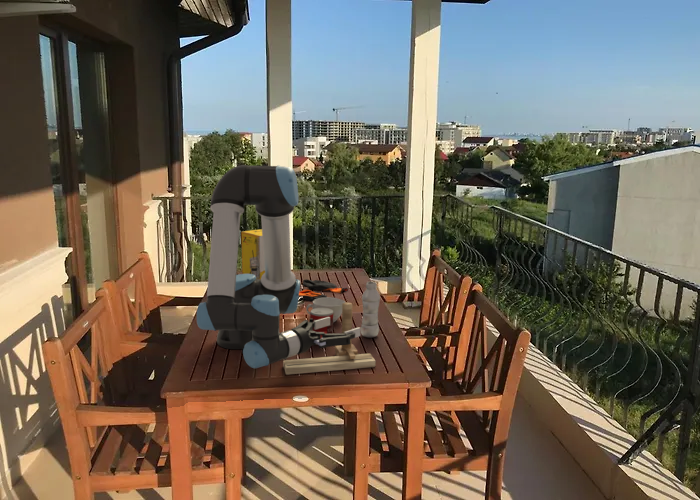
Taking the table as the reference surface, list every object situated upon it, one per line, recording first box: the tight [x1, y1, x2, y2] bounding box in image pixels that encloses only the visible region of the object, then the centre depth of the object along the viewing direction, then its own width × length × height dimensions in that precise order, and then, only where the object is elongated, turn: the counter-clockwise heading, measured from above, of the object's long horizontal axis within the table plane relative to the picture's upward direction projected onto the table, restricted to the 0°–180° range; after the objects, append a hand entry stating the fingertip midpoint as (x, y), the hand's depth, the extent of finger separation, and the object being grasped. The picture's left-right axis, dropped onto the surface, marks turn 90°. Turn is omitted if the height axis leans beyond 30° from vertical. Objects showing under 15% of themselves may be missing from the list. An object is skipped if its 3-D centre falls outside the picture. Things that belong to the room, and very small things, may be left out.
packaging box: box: [241, 228, 265, 279], centre depth 261 cm, size 16×16×25 cm
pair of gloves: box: [299, 279, 349, 302], centre depth 248 cm, size 27×24×3 cm
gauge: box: [334, 302, 359, 359], centre depth 169 cm, size 11×6×18 cm, turn 15°
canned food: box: [309, 308, 334, 339], centre depth 186 cm, size 8×8×11 cm
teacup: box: [305, 296, 346, 323], centre depth 208 cm, size 15×12×8 cm
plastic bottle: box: [360, 281, 381, 338], centre depth 190 cm, size 6×7×20 cm
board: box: [282, 353, 377, 375], centre depth 165 cm, size 6×28×2 cm, turn 105°
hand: (344, 326), depth 170 cm, fingers open, 13 cm apart
